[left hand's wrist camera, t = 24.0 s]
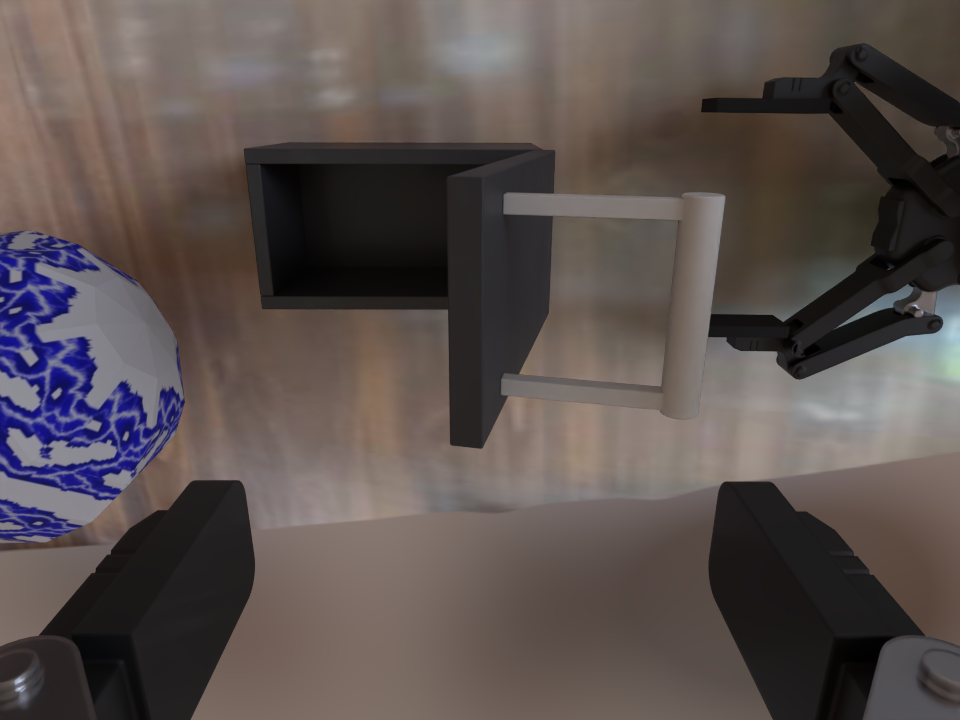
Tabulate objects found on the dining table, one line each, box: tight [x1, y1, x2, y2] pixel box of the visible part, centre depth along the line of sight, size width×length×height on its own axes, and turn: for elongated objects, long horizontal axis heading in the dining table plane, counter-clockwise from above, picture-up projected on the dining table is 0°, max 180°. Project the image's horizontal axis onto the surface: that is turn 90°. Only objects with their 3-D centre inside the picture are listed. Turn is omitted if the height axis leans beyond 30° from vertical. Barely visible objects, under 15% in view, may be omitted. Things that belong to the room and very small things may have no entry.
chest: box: [244, 143, 543, 309], centre depth 43 cm, size 17×9×9 cm, turn 90°
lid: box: [446, 150, 725, 449], centre depth 30 cm, size 18×9×9 cm
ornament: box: [0, 230, 185, 543], centre depth 42 cm, size 20×20×20 cm
